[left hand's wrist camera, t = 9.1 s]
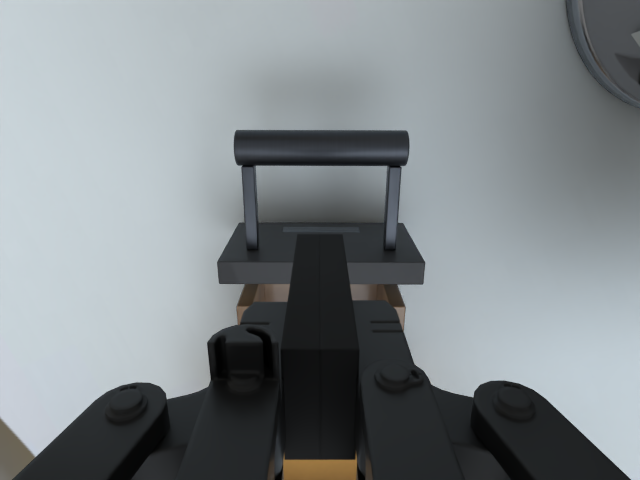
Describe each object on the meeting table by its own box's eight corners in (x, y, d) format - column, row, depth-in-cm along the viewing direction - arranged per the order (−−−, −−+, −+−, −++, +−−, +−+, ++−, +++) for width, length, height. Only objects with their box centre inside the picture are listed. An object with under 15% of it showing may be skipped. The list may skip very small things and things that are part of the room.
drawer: (232, 121, 24) (205, 134, 19) (410, 121, 24) (437, 135, 19) (253, 446, 33) (239, 523, 27) (386, 446, 33) (400, 523, 27)
